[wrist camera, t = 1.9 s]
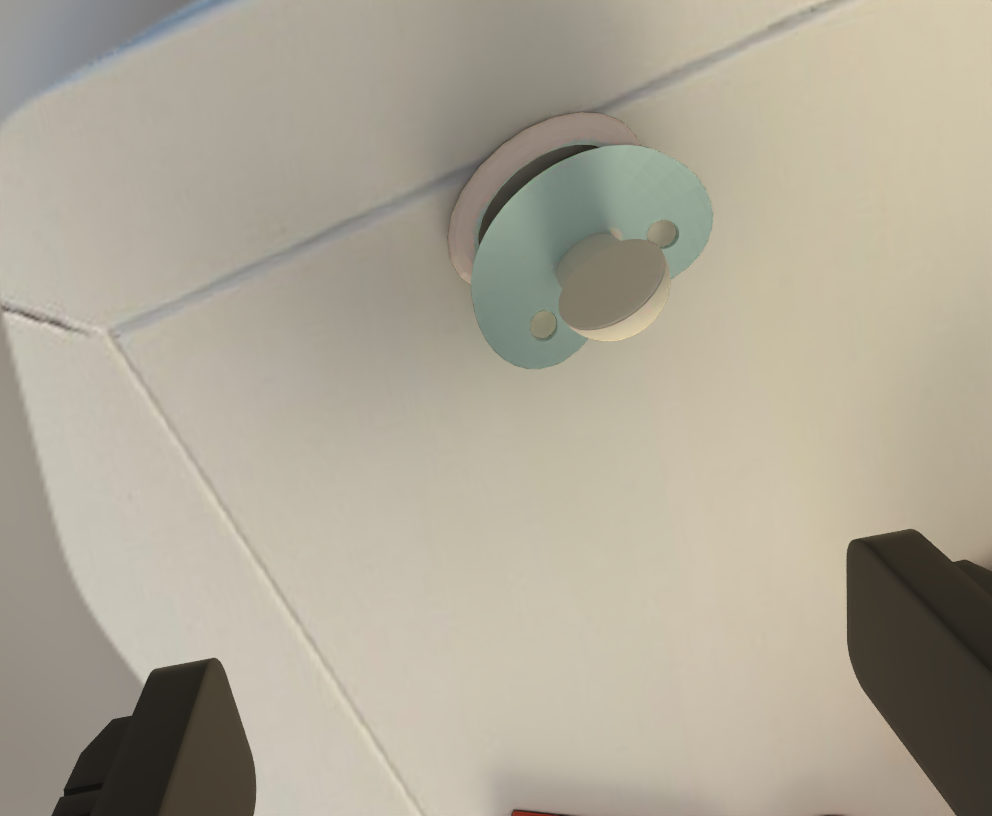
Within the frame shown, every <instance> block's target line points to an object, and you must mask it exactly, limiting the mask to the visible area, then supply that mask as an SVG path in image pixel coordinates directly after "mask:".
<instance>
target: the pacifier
mask: <svg viewBox="0 0 992 816" xmlns="http://www.w3.org/2000/svg"><path fill="white" fill-rule="evenodd" d="M572 145H594V146H596V147H599V148H596V149H592V150H588V151H585V152H581V153H579V154H576V155H574V156H572V157H569V158H567V159H565V160H563V161H561V162H558V163H556V164H555V165H553V166H551V167H549V168H548V169H546V170H545V171H543V172H542V173H540V174H539V175H537V176H536V177H535V178H533V179H532V180H531V181H529V182H528V183H527V184H526V185H525V186H523V187H522V188H521V189H520V190H519V191H518V192H517V193H516V194H515V195H514V196H512V197H511V198H510V199H509V201H508V202H507V203H506V204H505V205H504V207H503V208H502V209H501V210H500V212H499V213H498V214H497V216H496V217H495V218H494V220H493V221H492V222H491V224H490V226H489V228H488V230H487V231H486V233H485V235H484V237H483V239H482V241H481V243H480V245H479V239H478V235H479V231H480V226H481V222H482V219H483V217H484V214H485V212H486V210H487V208H488V206H489V204H490V202H491V201H492V199H493V198H494V197H495V195H496V194H497V193H498V191H499V190H500V189H501V187H502V186H503V185H504V184H505V183H506V182H507V181H508V180H509V179H510V178H511V177H512V176H513V175H514V174H516V173H517V172H518V171H519V170H520V169H521V168H523V167H524V166H526V165H527V164H529V163H530V162H532V161H533V160H535V159H536V158H538V157H540V156H542V155H544V154H547V153H549V152H551V151H553V150H556V149H559V148H563V147H568V146H572ZM660 220H668V221H671V222H672V223H673V224H674V225H675V228H676V237H675V239H674V240H673V242H671V243H670V244H669V245H667V246H665V247H659V246H657V245H656V244H654V243H653V242H650V241H648V239H647V232H648V229H649V227H650V226H651V225H652V224H653V223H655V222H657V221H660ZM712 222H713V212H712V205H711V201H710V198H709V196H708V193H707V191H706V189H705V187H704V186H703V185H702V183H701V182H700V180H699V179H698V177H697V176H696V175H695V174H694V173H693V172H692V171H691V170H689V169H688V168H687V167H686V166H685V165H683V164H682V163H680V162H679V161H677V160H676V159H674V158H672V157H670V156H667V155H665V154H663V153H661V152H660V151H657V150H653V149H650V148H647V147H643V146H640V144H639V141H638V139H637V136H636V135H635V134H634V133H633V132H632V131H631V130H630V129H629V128H628V127H627V126H626V125H625V124H624V123H623V122H622V121H619V120H617V119H614V118H612V117H610V116H607V115H605V114H600V113H584V112H577V113H572V114H567V115H562V116H557V117H553V118H550V119H548V120H546V121H543V122H541V123H539V124H536V125H534V126H532V127H529V128H527V129H525V130H524V131H522V132H521V133H519V134H518V135H516V136H515V137H513V138H512V139H510V140H509V141H507V142H506V143H504V144H503V145H501V146H500V147H499V148H498V149H497V150H496V151H495V152H494V153H493V154H492V155H491V156H490V157H489V158H488V159H487V160H486V161H485V162H484V163H483V164H482V165H481V166H480V167H479V168H478V169H477V171H476V172H475V173H474V175H473V176H472V178H471V179H470V180H469V182H468V183H467V185H466V186H465V187H464V189H463V190H462V192H461V195H460V197H459V199H458V201H457V204H456V206H455V208H454V210H453V212H452V216H451V221H450V227H449V232H448V246H449V254H450V259H451V261H452V263H453V265H454V267H455V269H456V271H457V273H458V275H459V276H461V277H462V278H463V279H464V280H465V281H466V282H468V283H469V284H470V285H471V293H472V299H473V305H474V311H475V315H476V318H477V321H478V324H479V327H480V329H481V331H482V333H483V335H484V337H485V339H486V341H487V342H488V343H489V345H490V346H491V347H492V348H493V350H494V351H495V352H496V353H497V354H498V355H500V356H501V357H502V358H503V359H504V360H506V361H508V362H510V363H512V364H513V365H515V366H518V367H522V368H526V369H542V368H546V367H550V366H553V365H556V364H559V363H561V362H562V361H564V360H566V359H567V358H568V357H570V356H571V355H572V354H574V353H575V352H576V351H578V350H579V348H580V347H581V346H582V345H583V344H584V343H585V342H586V341H587V340H588V338H590V339H593V340H598V341H617V340H621V339H625V338H628V337H631V336H633V335H635V334H637V333H639V332H641V331H642V330H644V329H645V328H646V327H648V326H649V325H650V324H651V323H652V322H653V321H654V320H655V319H656V318H657V316H658V315H659V313H660V312H661V311H662V309H663V307H664V305H665V303H666V300H667V297H668V294H669V289H670V279H672V278H674V277H675V276H677V275H678V274H679V273H681V272H682V271H684V270H685V269H686V268H688V267H689V266H690V265H691V264H692V263H693V262H694V260H695V259H696V258H697V257H698V256H699V255H700V253H701V252H702V250H703V248H704V247H705V245H706V243H707V242H708V239H709V235H710V232H711V229H712ZM540 311H549V312H551V313H553V314H554V316H555V318H556V327H555V329H554V331H553V333H552V334H551V335H550V336H549V337H547V338H543V339H540V338H537V337H535V336H534V335H532V333H531V330H530V323H531V320H532V318H533V317H534V315H535V314H537V313H538V312H540Z"/></svg>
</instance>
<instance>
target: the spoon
mask: <svg viewBox="0 0 992 816" xmlns="http://www.w3.org/2000/svg"><path fill="white" fill-rule="evenodd" d="M512 816H558V815H548V814H539V813H530V812H521V811H514V812H513V814H512Z"/></svg>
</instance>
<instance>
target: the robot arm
mask: <svg viewBox="0 0 992 816" xmlns="http://www.w3.org/2000/svg"><path fill="white" fill-rule="evenodd" d="M847 644H848V651H849V656H850V660H851V663H852V666H853V669H854V672H855V675H856V677H857V679H858V681H859V683H860V685H861V687H862V689H863V690H864V692H865V693H866V694H867V696H868V697H869V699H870V700H871V701H872V703H873V704H874V705H875V707H876V708H877V709H878V711H879V712H880V713H881V715H882V716H883V717H884V719H885V720H886V721H887V723H888V724H889V725H890V727H891V728H892V729H893V731H894V732H895V733H896V735H897V736H898V737H899V739H900V740H901V742H902V743H903V744H904V746H905V747H906V748H907V750H908V751H909V752H910V754H911V755H912V756H913V758H914V759H915V760H916V762H917V763H918V764H919V766H920V767H921V768H922V770H923V771H924V772H925V774H926V775H927V776H928V778H929V779H930V780H931V782H932V783H933V785H934V786H935V787H936V789H937V790H938V791H939V793H940V794H941V795H942V797H943V798H944V799H945V801H946V802H947V803H948V805H949V806H950V807H951V809H952V810H953V811H954V813H955V814H956V815H957V816H992V571H990V570H987V569H985V568H983V567H981V566H978V565H976V564H974V563H972V562H970V561H967V560H961V561H956V562H952V561H951V560H950V559H949V558H948V557H946V556H945V555H944V554H943V553H942V552H941V551H940V550H939V549H937V548H936V547H935V546H934V545H933V544H932V543H931V542H930V541H928V540H927V539H926V538H925V537H924V536H923V535H922V534H920V533H919V532H918V531H916V530H914V529H907V530H902V531H897V532H891V533H886V534H881V535H875V536H870V537H865V538H859V539H854V540H852V541H851V542H850V544H849V546H848V549H847ZM255 803H256V775H255V767H254V761H253V757H252V753H251V750H250V746H249V743H248V740H247V737H246V734H245V731H244V728H243V725H242V722H241V719H240V716H239V713H238V709H237V706H236V703H235V700H234V697H233V694H232V691H231V688H230V685H229V682H228V679H227V676H226V673H225V670H224V668H223V666H222V664H221V662H220V661H219V660H218V659H216V658H211V659H205V660H200V661H195V662H189V663H184V664H179V665H173V666H168V667H163V668H157V669H154V670H153V671H152V672H151V673H150V675H149V677H148V679H147V681H146V684H145V686H144V688H143V691H142V694H141V696H140V698H139V700H138V703H137V705H136V708H135V710H134V712H133V715H132V716H128V717H122V718H117V719H113V720H112V721H111V722H110V723H109V724H108V725H107V726H106V727H105V728H104V729H103V730H102V731H101V733H99V735H98V736H97V737H96V738H95V739H94V740H93V741H92V742H91V743H90V744H89V745H88V746H87V748H86V749H85V750H84V751H83V752H82V753H81V755H80V756H79V759H78V761H77V763H76V765H75V767H74V769H73V771H72V773H71V775H70V778H69V780H68V782H67V784H66V786H65V788H64V797H60V799H59V801H58V803H57V805H56V807H55V809H54V812H53V814H52V816H253V815H254V810H255Z"/></svg>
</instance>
